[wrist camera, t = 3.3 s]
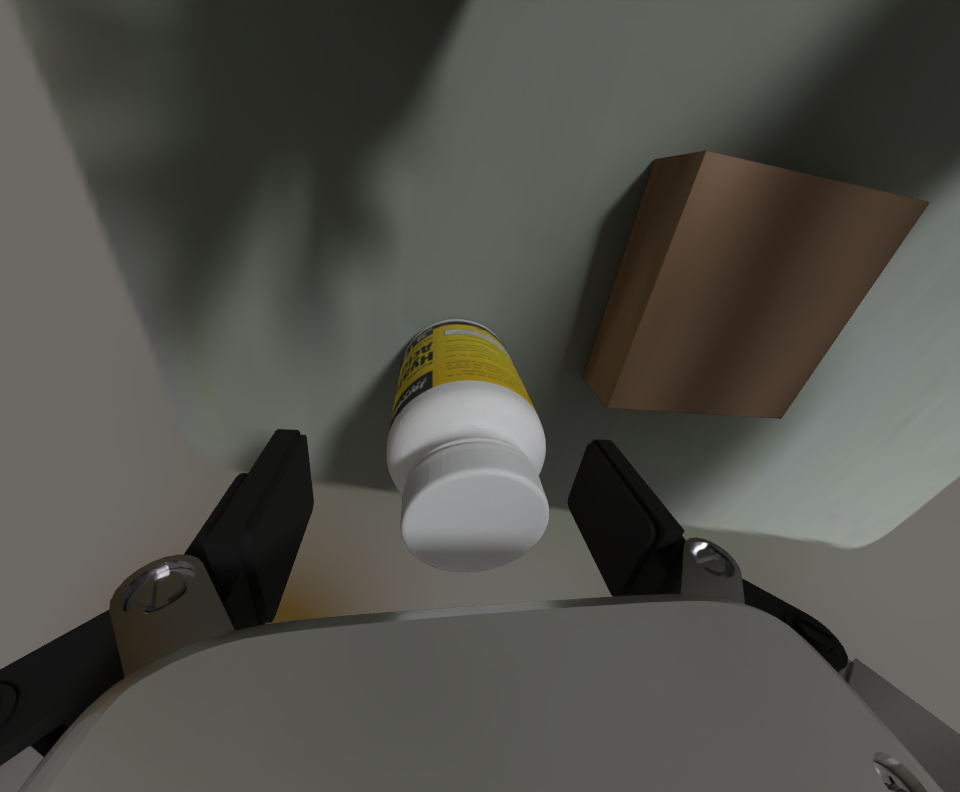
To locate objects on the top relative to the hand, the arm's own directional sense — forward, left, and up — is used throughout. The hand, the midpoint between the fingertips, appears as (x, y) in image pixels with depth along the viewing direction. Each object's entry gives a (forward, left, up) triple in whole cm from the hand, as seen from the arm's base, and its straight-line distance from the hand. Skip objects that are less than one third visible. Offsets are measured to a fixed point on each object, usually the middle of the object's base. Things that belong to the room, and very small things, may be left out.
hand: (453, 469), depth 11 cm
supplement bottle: (0, 0, -7) cm, 7 cm away
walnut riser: (-12, -5, -7) cm, 15 cm away
